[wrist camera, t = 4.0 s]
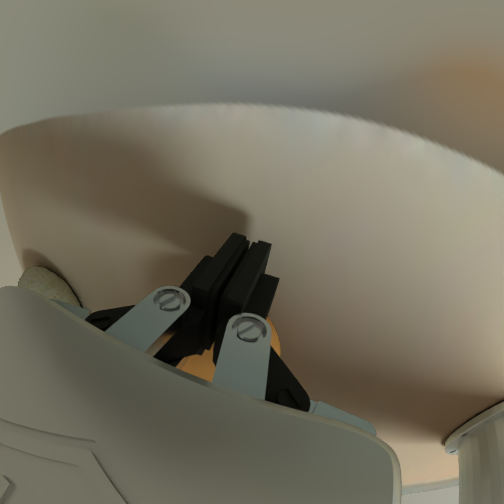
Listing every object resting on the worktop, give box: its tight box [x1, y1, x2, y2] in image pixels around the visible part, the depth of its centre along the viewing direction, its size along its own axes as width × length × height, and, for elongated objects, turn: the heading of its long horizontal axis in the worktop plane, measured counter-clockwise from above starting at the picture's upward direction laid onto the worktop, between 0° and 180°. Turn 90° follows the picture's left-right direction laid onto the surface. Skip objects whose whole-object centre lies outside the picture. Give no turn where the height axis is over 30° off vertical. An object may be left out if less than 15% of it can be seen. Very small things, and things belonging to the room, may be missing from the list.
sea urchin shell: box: [18, 266, 81, 307], centre depth 20 cm, size 9×8×8 cm
